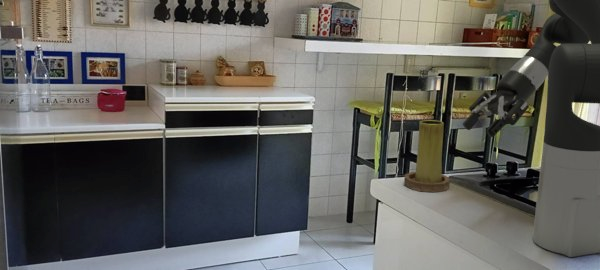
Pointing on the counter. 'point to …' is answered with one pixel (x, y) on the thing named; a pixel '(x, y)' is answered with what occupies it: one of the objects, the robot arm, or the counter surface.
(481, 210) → the counter surface
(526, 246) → the counter surface
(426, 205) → the counter surface
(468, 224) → the counter surface
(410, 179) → the round tray
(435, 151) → the vase
